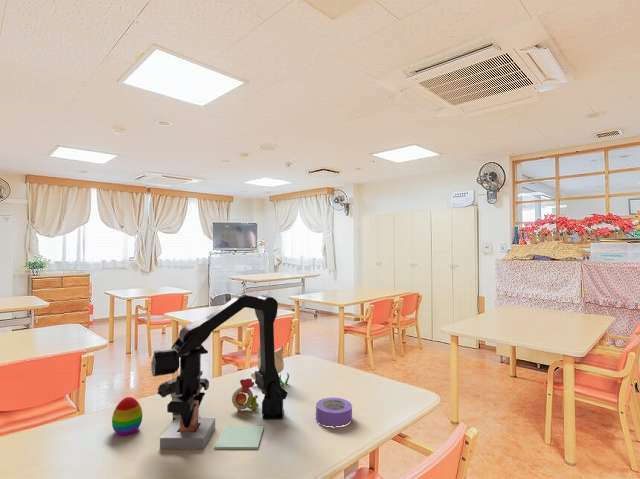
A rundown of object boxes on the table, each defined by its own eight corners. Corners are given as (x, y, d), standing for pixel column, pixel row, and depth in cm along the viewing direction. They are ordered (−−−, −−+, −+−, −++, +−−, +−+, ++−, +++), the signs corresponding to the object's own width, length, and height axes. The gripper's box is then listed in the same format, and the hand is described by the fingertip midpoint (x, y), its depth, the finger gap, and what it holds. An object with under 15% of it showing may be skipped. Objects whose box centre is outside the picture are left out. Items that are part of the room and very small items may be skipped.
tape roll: (356, 416, 123) (356, 401, 123) (344, 432, 112) (344, 415, 112) (324, 409, 127) (324, 394, 128) (309, 423, 117) (309, 407, 117)
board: (263, 428, 113) (263, 426, 113) (257, 449, 101) (257, 447, 101) (224, 427, 113) (224, 425, 113) (214, 449, 101) (214, 446, 101)
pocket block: (215, 427, 113) (215, 418, 113) (203, 449, 101) (203, 438, 101) (176, 427, 113) (176, 417, 113) (159, 448, 101) (159, 437, 101)
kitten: (292, 380, 155) (292, 344, 155) (284, 389, 145) (285, 351, 145) (259, 377, 158) (259, 342, 158) (249, 385, 148) (250, 348, 149)
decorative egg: (113, 427, 113) (114, 394, 113) (142, 422, 116) (143, 390, 116) (109, 440, 105) (110, 405, 106) (141, 434, 109) (142, 400, 109)
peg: (198, 434, 109) (198, 400, 109) (193, 441, 105) (194, 406, 105) (184, 434, 109) (185, 400, 109) (179, 441, 105) (180, 406, 105)
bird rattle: (241, 421, 122) (265, 405, 126) (228, 392, 121) (253, 377, 125) (236, 413, 128) (259, 398, 132) (224, 386, 126) (248, 372, 130)
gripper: (174, 360, 117) (173, 409, 116) (148, 381, 98) (147, 440, 98) (209, 360, 117) (209, 409, 117) (190, 381, 98) (188, 440, 98)
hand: (189, 423), depth 107 cm, fingers closed on peg, 4 cm apart
